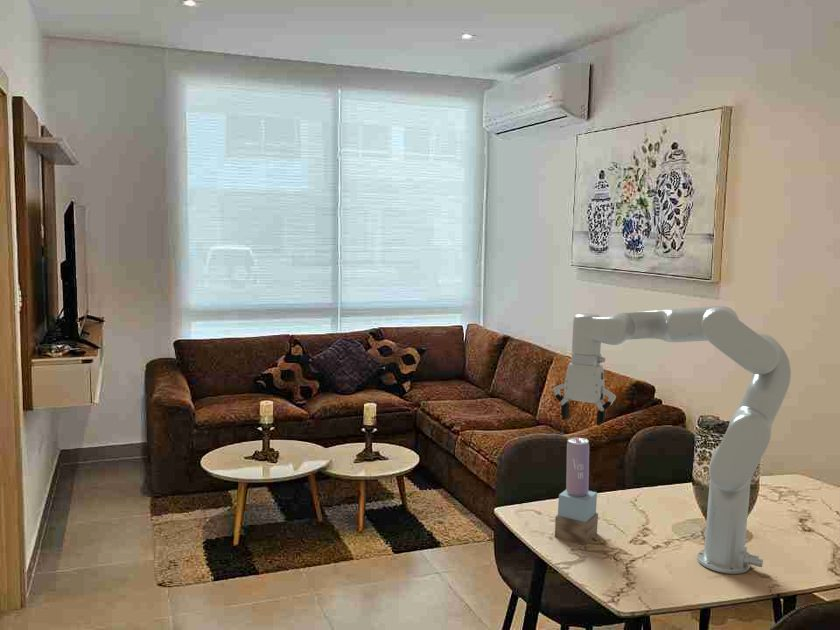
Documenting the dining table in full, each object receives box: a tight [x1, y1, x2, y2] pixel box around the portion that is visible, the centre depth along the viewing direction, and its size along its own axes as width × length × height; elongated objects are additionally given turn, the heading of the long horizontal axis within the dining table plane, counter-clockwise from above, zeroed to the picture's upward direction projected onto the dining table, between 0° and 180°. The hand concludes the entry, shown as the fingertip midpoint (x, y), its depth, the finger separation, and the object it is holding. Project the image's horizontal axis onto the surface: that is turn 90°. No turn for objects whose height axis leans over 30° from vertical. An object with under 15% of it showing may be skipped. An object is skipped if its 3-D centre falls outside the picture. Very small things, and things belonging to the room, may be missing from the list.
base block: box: [554, 512, 599, 546], centre depth 212 cm, size 9×9×6 cm
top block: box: [557, 489, 598, 523], centre depth 211 cm, size 8×8×6 cm
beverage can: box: [565, 437, 590, 497], centre depth 210 cm, size 6×6×15 cm
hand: (582, 421), depth 209 cm, fingers open, 9 cm apart
